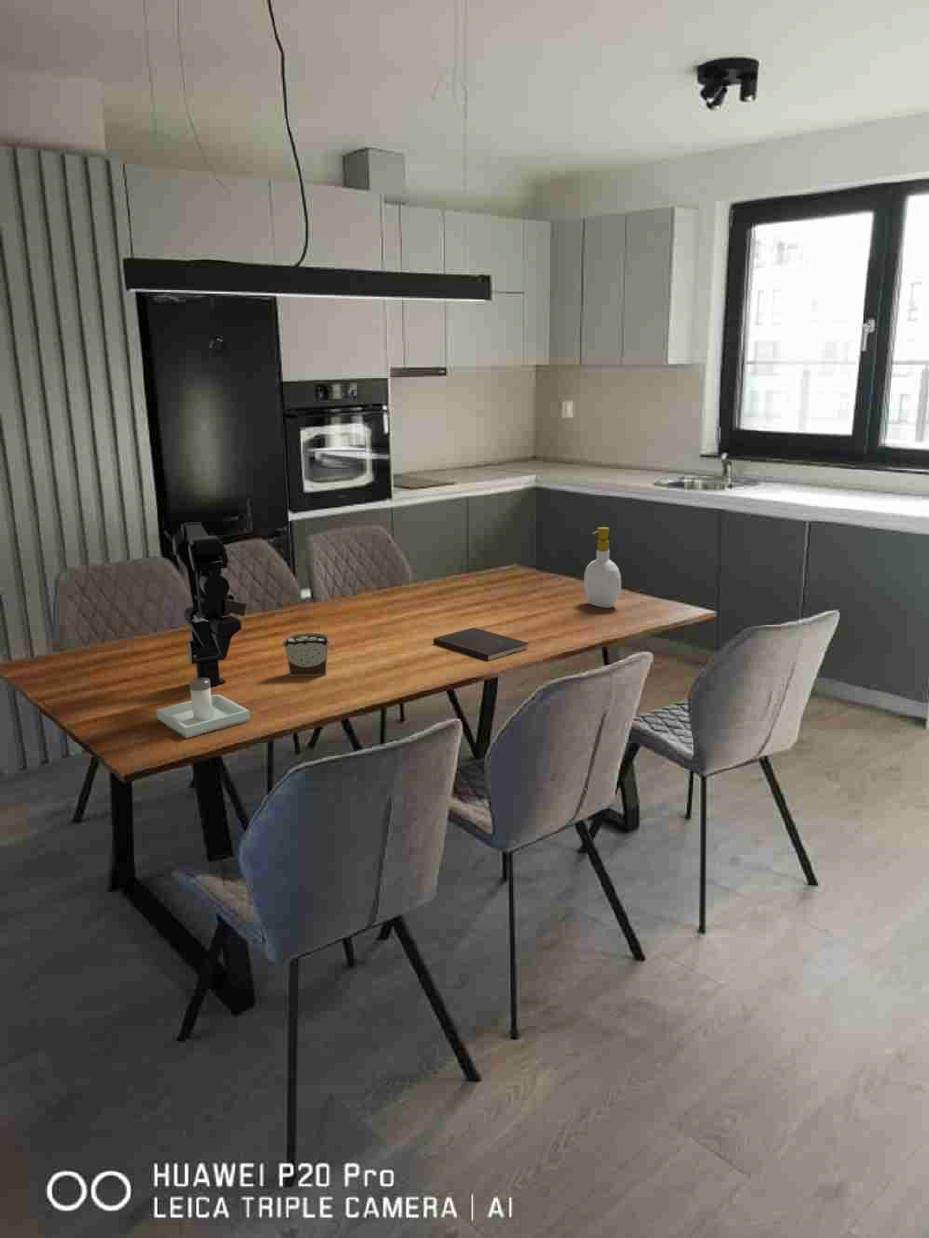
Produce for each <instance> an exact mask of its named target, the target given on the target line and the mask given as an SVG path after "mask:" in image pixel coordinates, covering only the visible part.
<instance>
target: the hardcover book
mask: <svg viewBox="0 0 929 1238" xmlns="http://www.w3.org/2000/svg"><path fill="white" fill-rule="evenodd" d="M432 641H433V644H434V645H436V646H439V647H442V648H446V649H449V650H451V651H453V652H454V651H455V652H458V653H461V652H462V653H461V654H464V655H467V654H468V655H467V656H471V657H473V656H474V658H476V659H480V660H483V661H486V662H489V661H490V660H491V661H492V660H495V659H499V658H501V657H505V656H509V655H511V654H510V653H512V654H514V653H513V652H515V653H518V652H522V651H525V650H528V645H529V644H530V643H529V642H526V641H523V640H519V639H516V638H512V637H509V636H506V635H503V634H499V633H494V632H493V631H492V632H491V631H487V630H485V629H482V628H481V629H480V628H477V627H470V628H467V629H463V630H460V631H456V632H452V633H448V634H445V635H441V636H438V637H434V639H433V640H432ZM524 649H525V650H524ZM508 654H509V655H508Z"/></svg>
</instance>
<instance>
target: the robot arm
mask: <svg viewBox="0 0 929 1238" xmlns="http://www.w3.org/2000/svg"><path fill="white" fill-rule="evenodd" d="M180 525H181V526H180V527H181V528H180V529H179V530H177V532H176V533H174V534H173V538H172V551H173V555H174V556H176V558H177V559H176V561H177V563H178V565H179V566H180V567H181V568H182V569H183V570H184V572H185V575H186V582H187V587H188V593H189V600H190V607H187V608H186V609H185V610H184V613H183V614H184V620H185V621H187V624H188V625H189V626H190V628H191V630H192V631H191V634H190V637H189V638H190V640H189V641H188V647H187V656H188V661H189V662H190V664H191V665H195V672H196V678H209V679H210V685H211V686H210V687H213V686H216V685H221V684H225V683H226V682H227V681H226V680H225V679H224V678H221V676H220V674H221V673H220V663H219V661H224V660H226V658H227V657H228V653H229V650H230V649H229V648H230V644H231V641H232V638H233V636H234V635H235V634H237V633H239V631H241V630H243V626H242V621H241V620H240V619H239V618H238V617H235V616H232V615H230V614H234V615H238V616H240V617H245V613H246V609H247V606H248V605H247V602H244V601H241V600H238V599H235V597H234V595H232V594H230V593H229V591H230V583H229V581H228V579H227V578H226V577H225V576H224V575H223V574H222V569H228V564H229V561H230V560H229V558H228V557H229V556H228V553H227V549H226V546H225V545H224V542H223V541H221V540H220V538H219V537H217V536H215V535H209V534H208V533H207V532H206V530H205V529H204V525H203V523H202V522H199V521H196V522H195V521H194V522H184V523H183V524H180ZM228 593H229V594H228Z"/></svg>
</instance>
